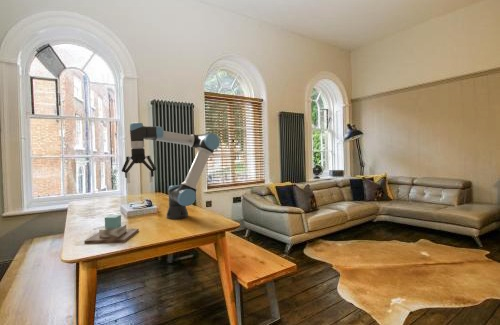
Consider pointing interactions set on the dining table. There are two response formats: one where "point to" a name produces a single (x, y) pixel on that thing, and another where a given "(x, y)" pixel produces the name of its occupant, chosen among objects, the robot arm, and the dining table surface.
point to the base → (111, 239)
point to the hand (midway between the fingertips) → (140, 182)
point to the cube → (112, 221)
